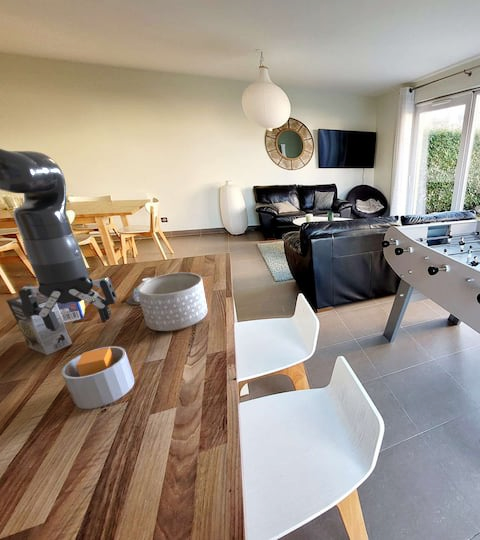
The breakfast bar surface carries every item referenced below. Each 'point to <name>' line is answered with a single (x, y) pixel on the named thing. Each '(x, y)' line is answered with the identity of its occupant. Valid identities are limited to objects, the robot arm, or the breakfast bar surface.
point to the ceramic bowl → (99, 381)
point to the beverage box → (72, 310)
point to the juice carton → (95, 361)
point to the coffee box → (40, 327)
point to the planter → (172, 301)
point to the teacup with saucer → (135, 296)
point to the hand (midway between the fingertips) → (81, 324)
